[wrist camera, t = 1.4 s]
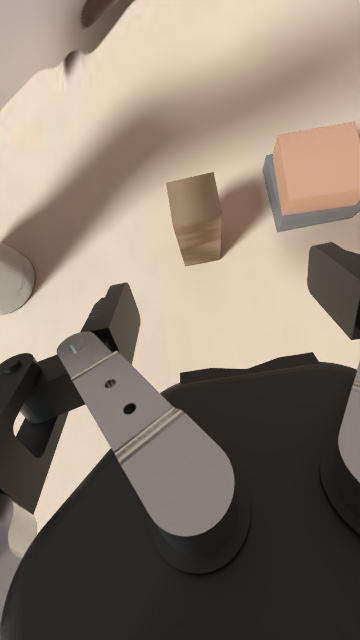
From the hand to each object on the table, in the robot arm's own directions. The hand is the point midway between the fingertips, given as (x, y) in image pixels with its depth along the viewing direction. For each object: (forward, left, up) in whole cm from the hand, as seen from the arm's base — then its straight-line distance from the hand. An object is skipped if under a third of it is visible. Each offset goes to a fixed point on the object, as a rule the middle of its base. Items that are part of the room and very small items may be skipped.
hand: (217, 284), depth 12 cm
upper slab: (+8, +20, -18) cm, 28 cm away
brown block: (-4, +11, -20) cm, 23 cm away
